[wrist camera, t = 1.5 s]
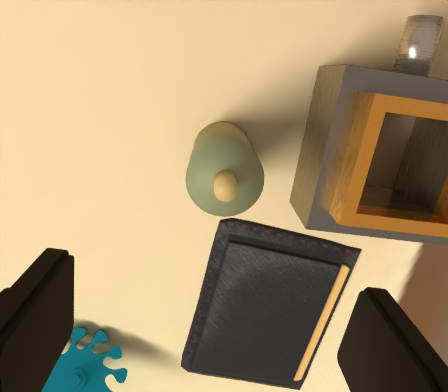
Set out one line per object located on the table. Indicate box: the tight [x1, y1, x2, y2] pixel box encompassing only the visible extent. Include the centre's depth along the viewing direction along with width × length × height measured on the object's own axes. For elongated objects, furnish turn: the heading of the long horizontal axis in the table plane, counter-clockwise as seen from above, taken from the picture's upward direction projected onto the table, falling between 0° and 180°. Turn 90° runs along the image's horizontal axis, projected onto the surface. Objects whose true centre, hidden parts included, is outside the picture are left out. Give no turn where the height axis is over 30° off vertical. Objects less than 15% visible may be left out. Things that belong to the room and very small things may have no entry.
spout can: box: [186, 122, 264, 217], centre depth 25 cm, size 5×5×11 cm
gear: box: [41, 327, 127, 392], centre depth 35 cm, size 11×6×10 cm
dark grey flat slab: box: [181, 218, 361, 390], centre depth 36 cm, size 20×2×15 cm
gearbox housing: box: [290, 15, 448, 246], centre depth 26 cm, size 16×12×8 cm
